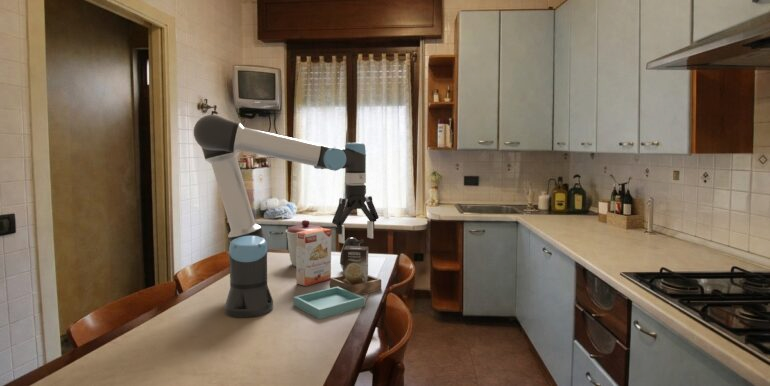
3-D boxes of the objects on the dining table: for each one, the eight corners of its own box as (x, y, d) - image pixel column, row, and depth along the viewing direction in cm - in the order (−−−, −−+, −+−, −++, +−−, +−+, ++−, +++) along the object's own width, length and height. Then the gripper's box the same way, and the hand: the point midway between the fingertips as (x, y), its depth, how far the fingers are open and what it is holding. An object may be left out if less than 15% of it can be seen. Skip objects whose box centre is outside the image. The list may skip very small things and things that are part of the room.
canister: (282, 262, 203) (281, 218, 201) (319, 258, 211) (319, 216, 209) (290, 272, 187) (290, 224, 185) (330, 267, 194) (330, 221, 193)
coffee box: (341, 291, 161) (341, 249, 160) (345, 286, 168) (345, 245, 166) (366, 292, 160) (366, 249, 159) (368, 286, 167) (368, 246, 165)
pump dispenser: (360, 275, 183) (360, 240, 182) (336, 273, 185) (336, 238, 184) (366, 269, 193) (366, 235, 192) (343, 267, 195) (343, 234, 194)
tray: (319, 319, 134) (319, 309, 133) (293, 305, 145) (293, 296, 145) (364, 306, 145) (364, 297, 145) (337, 294, 157) (337, 286, 157)
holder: (351, 297, 154) (351, 286, 154) (329, 288, 165) (329, 278, 164) (381, 289, 163) (381, 279, 163) (358, 281, 174) (358, 271, 173)
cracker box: (305, 287, 166) (305, 233, 164) (295, 284, 170) (295, 231, 168) (332, 279, 177) (332, 229, 175) (322, 276, 180) (321, 227, 179)
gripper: (333, 186, 149) (334, 246, 151) (387, 183, 166) (387, 237, 168) (322, 185, 155) (323, 243, 157) (375, 182, 171) (375, 234, 173)
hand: (356, 240), depth 162 cm, fingers open, 13 cm apart
